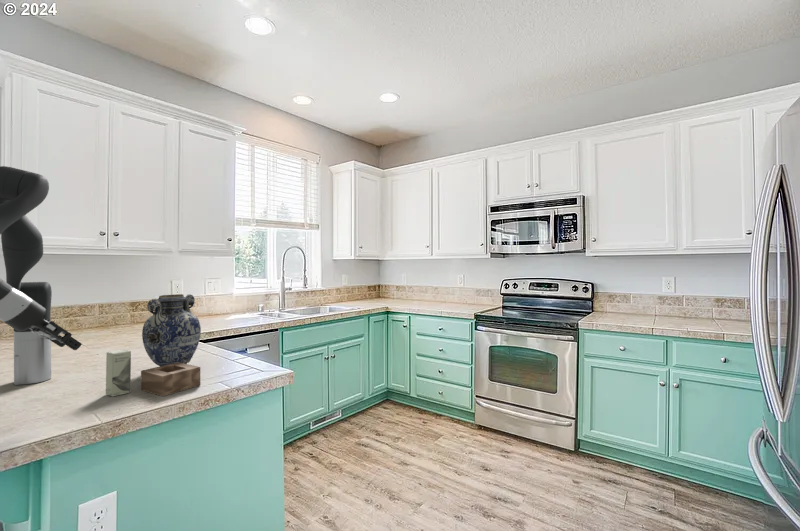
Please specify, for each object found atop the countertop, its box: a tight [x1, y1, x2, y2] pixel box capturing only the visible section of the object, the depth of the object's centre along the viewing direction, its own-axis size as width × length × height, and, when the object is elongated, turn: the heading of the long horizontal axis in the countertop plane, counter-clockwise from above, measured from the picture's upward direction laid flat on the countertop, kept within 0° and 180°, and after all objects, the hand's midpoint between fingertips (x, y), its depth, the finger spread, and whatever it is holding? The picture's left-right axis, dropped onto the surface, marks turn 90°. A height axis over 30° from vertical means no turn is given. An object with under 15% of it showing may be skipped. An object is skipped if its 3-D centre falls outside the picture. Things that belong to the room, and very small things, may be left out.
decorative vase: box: [141, 293, 202, 367], centre depth 145 cm, size 21×19×28 cm
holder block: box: [140, 362, 201, 397], centre depth 126 cm, size 12×12×6 cm
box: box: [105, 349, 132, 397], centre depth 121 cm, size 5×4×13 cm
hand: (71, 345), depth 110 cm, fingers open, 8 cm apart
